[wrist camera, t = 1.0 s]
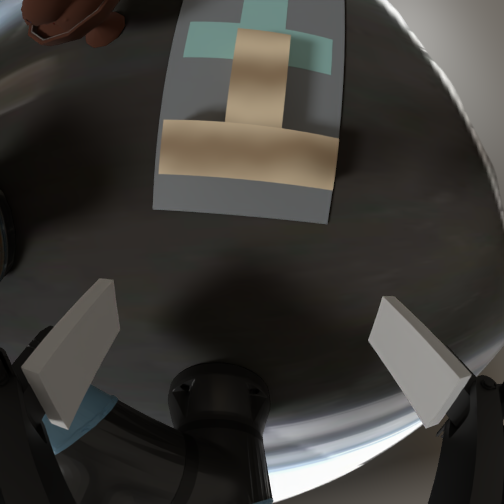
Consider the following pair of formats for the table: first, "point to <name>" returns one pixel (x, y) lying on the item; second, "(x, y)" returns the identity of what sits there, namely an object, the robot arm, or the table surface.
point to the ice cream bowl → (72, 21)
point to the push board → (217, 87)
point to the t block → (251, 126)
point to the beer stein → (6, 237)
